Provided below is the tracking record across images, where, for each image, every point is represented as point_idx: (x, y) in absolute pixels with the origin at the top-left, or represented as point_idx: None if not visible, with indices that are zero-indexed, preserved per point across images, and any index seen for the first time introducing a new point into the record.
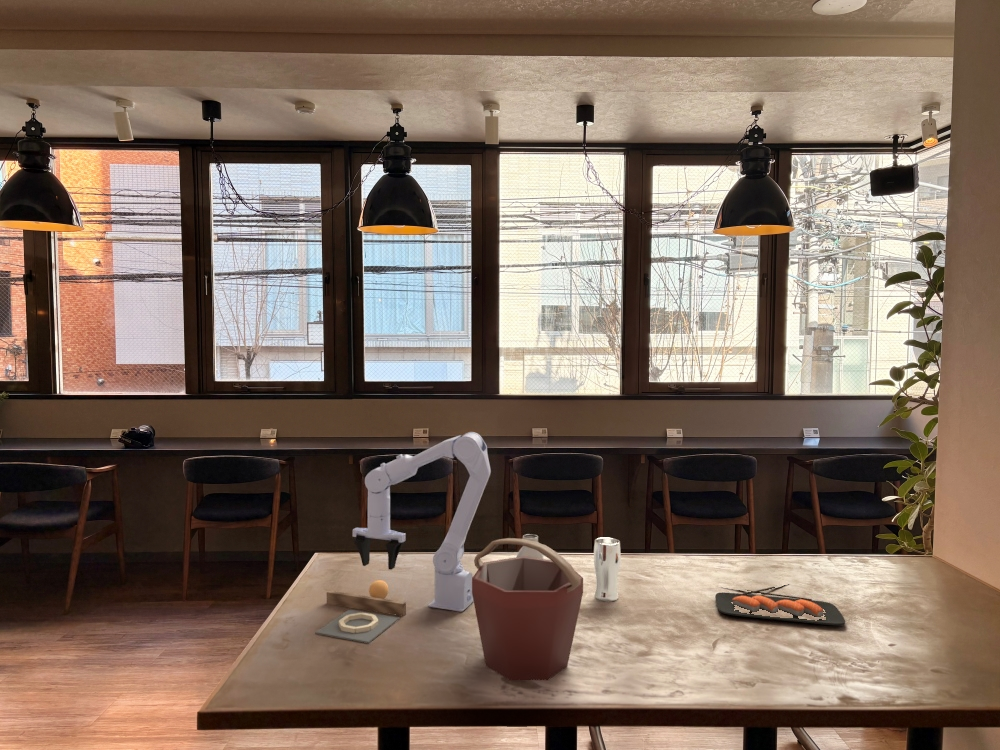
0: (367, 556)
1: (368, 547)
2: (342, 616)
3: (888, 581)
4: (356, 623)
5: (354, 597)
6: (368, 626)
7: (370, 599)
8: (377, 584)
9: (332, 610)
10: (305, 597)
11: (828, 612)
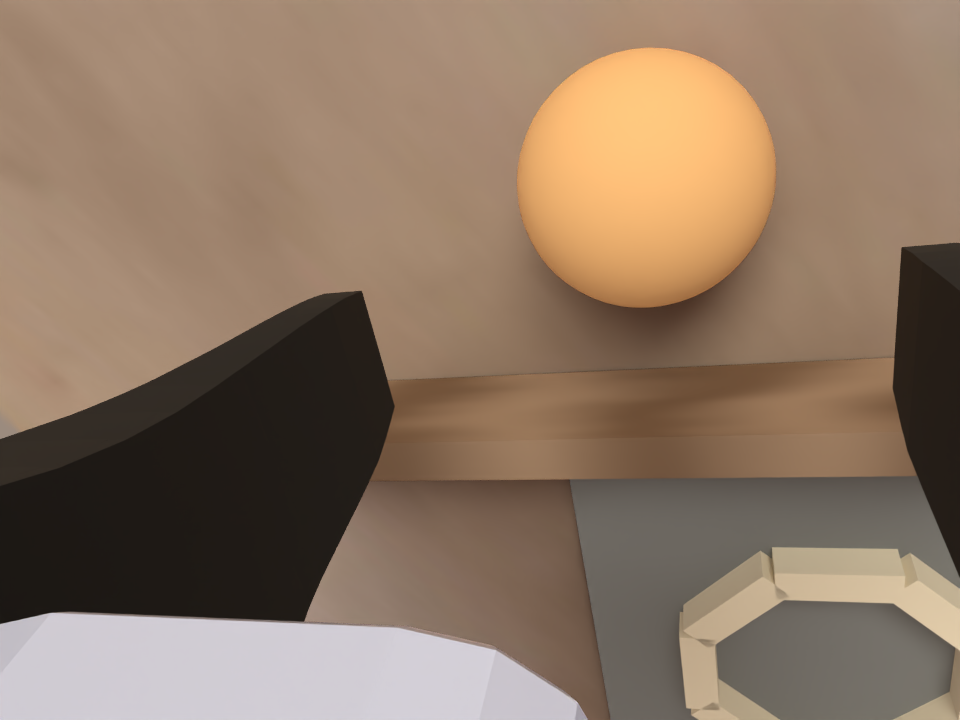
0: (313, 410)
1: (201, 477)
2: (614, 585)
3: None
4: (801, 646)
5: (554, 472)
6: None
7: (750, 475)
8: (667, 289)
9: (441, 495)
10: (70, 381)
11: None
